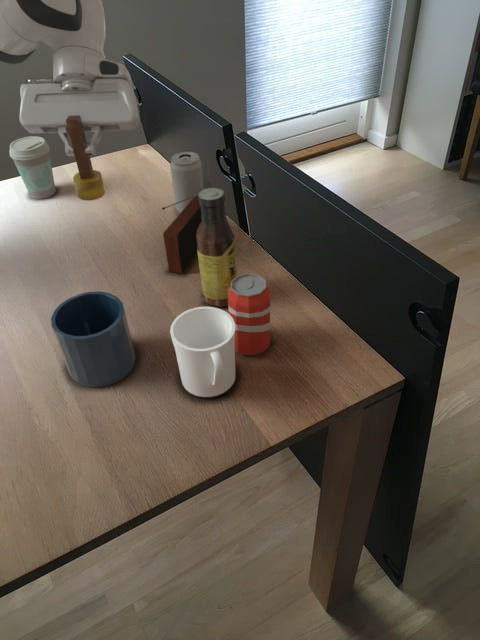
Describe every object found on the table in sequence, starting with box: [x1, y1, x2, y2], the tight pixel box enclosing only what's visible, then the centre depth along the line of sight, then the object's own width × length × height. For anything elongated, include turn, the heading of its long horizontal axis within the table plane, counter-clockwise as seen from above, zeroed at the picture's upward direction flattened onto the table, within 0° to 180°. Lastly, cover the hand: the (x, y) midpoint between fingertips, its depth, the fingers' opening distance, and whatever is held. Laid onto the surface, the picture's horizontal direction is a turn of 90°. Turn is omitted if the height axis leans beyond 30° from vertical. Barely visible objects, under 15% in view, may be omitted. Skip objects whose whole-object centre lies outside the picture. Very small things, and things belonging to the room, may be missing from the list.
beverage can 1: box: [169, 151, 205, 214], centre depth 112 cm, size 6×6×12 cm
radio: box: [161, 190, 202, 275], centre depth 99 cm, size 19×3×15 cm, turn 159°
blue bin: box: [50, 291, 136, 388], centre depth 80 cm, size 10×10×10 cm
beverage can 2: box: [227, 272, 271, 356], centre depth 81 cm, size 6×6×12 cm
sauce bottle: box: [196, 187, 238, 308], centre depth 87 cm, size 7×6×20 cm
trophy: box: [66, 115, 106, 202], centre depth 93 cm, size 5×5×14 cm
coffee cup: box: [9, 135, 57, 200], centre depth 121 cm, size 8×8×12 cm
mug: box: [169, 306, 236, 400], centre depth 76 cm, size 11×9×10 cm
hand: (81, 154), depth 92 cm, fingers closed on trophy
